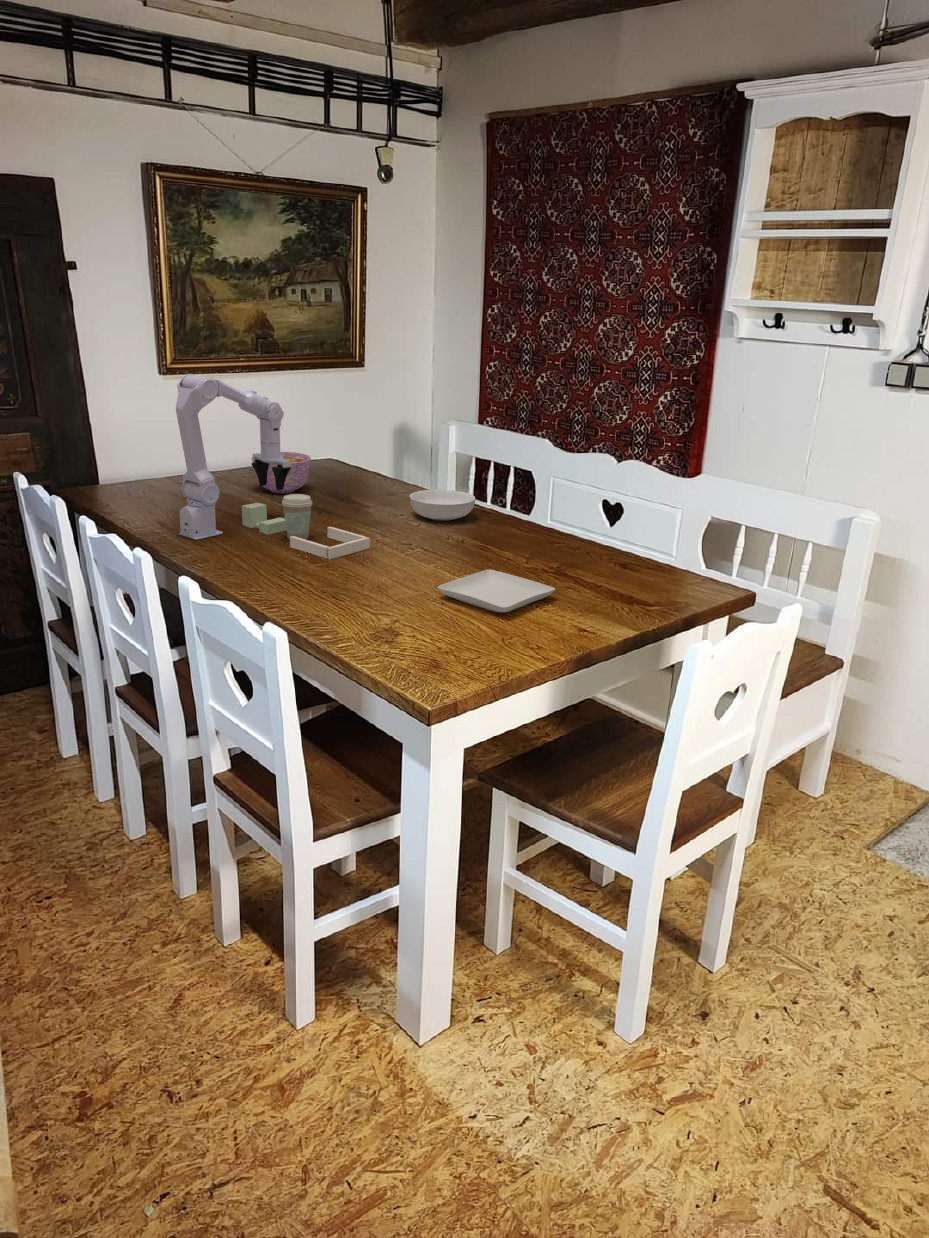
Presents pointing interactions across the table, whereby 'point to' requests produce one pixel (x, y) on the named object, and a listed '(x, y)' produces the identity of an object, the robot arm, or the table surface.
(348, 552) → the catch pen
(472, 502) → the serving bowl
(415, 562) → the table surface
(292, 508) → the coffee cup
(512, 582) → the salad plate
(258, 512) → the square dumbbell
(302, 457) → the bowl of food
